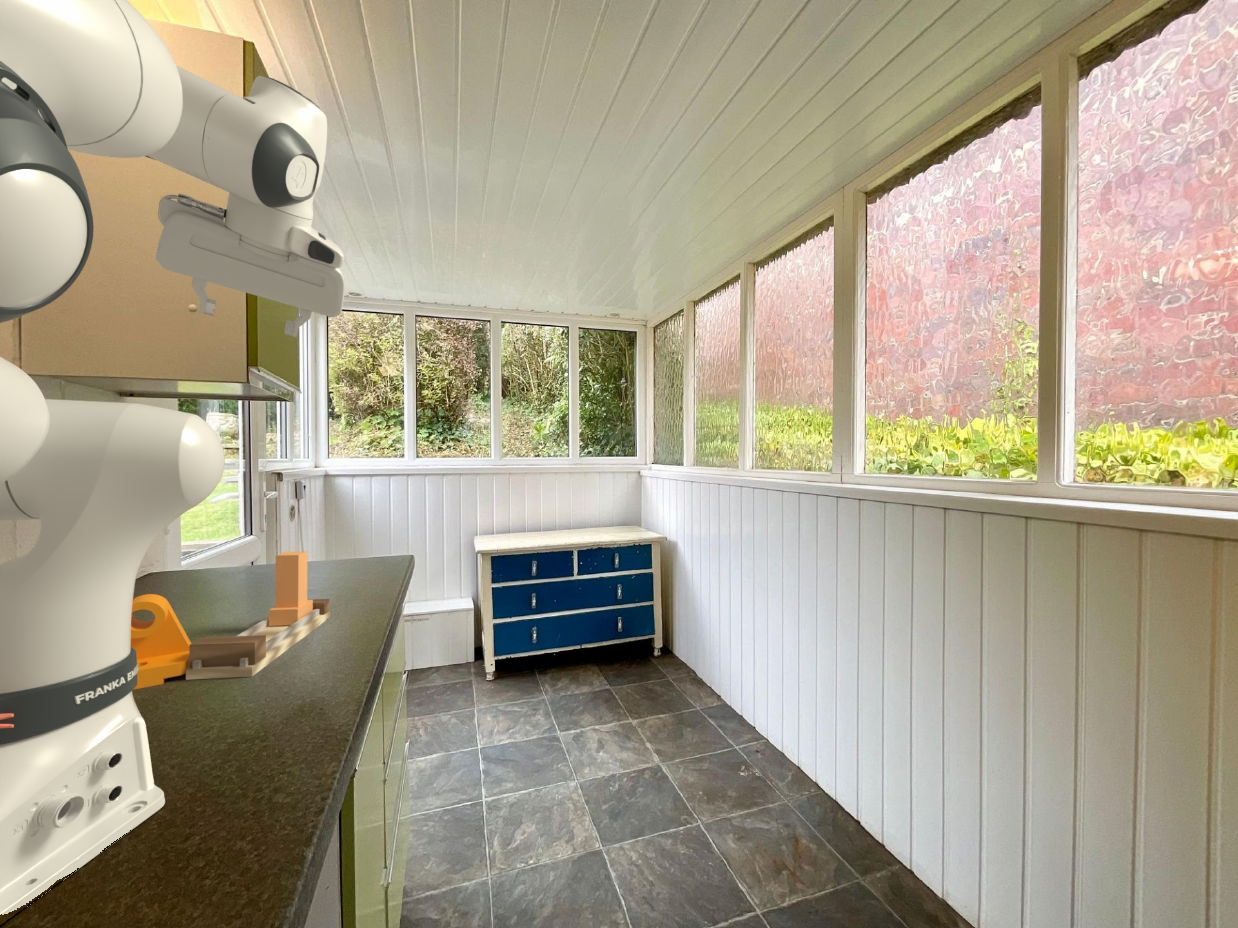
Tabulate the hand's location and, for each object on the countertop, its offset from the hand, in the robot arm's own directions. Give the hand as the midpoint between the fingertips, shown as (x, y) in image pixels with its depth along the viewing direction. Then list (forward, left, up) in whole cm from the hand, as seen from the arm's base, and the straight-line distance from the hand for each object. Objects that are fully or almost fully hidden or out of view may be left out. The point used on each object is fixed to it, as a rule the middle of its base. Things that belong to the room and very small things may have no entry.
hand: (250, 324), depth 68 cm
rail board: (+19, +7, -52) cm, 56 cm away
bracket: (+6, +18, -53) cm, 56 cm away
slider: (+26, +7, -51) cm, 58 cm away
